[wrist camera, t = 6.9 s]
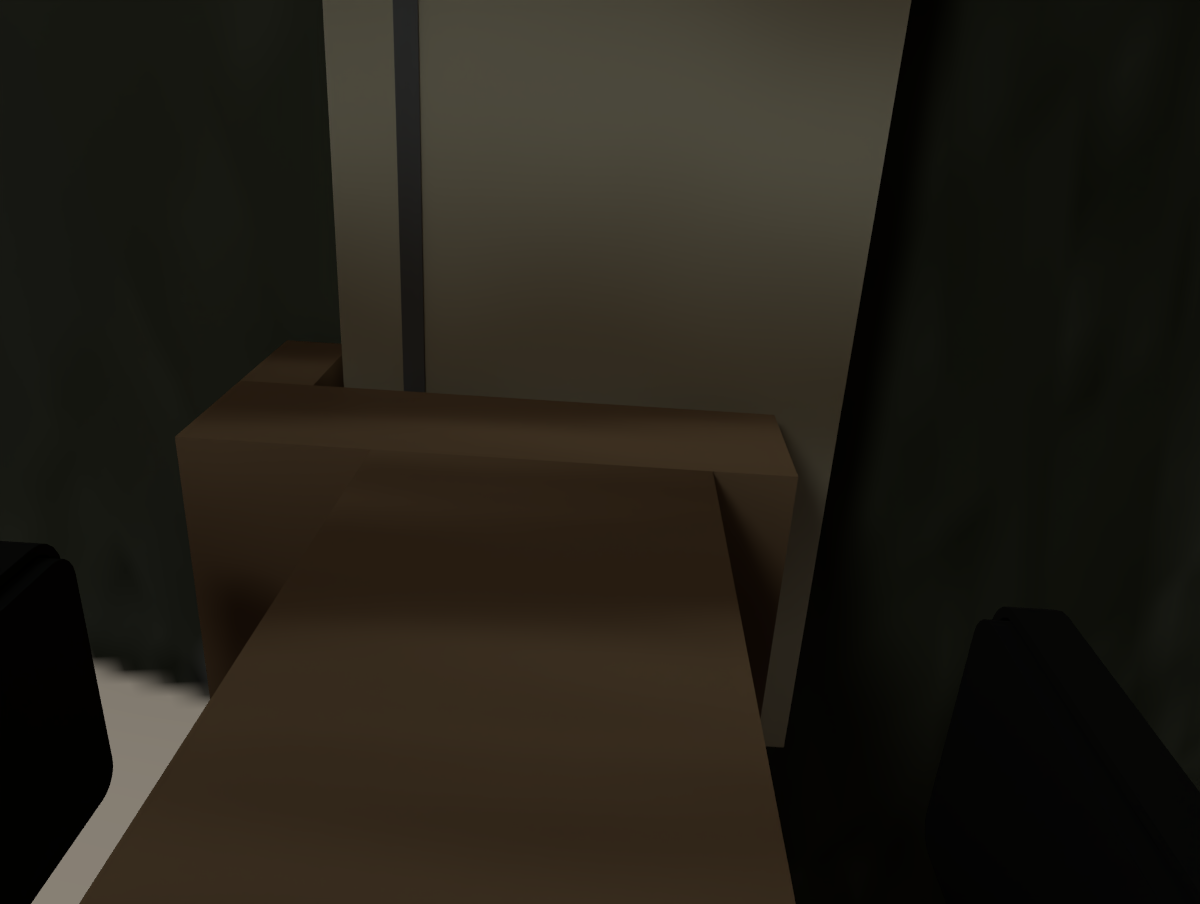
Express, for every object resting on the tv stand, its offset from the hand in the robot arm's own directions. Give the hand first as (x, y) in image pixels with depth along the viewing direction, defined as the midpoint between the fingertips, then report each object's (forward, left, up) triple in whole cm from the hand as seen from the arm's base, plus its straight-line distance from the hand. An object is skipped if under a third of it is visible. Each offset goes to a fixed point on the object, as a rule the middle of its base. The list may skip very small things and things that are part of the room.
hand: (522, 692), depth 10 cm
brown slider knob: (0, 0, -6) cm, 6 cm away
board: (-3, 0, -6) cm, 7 cm away
